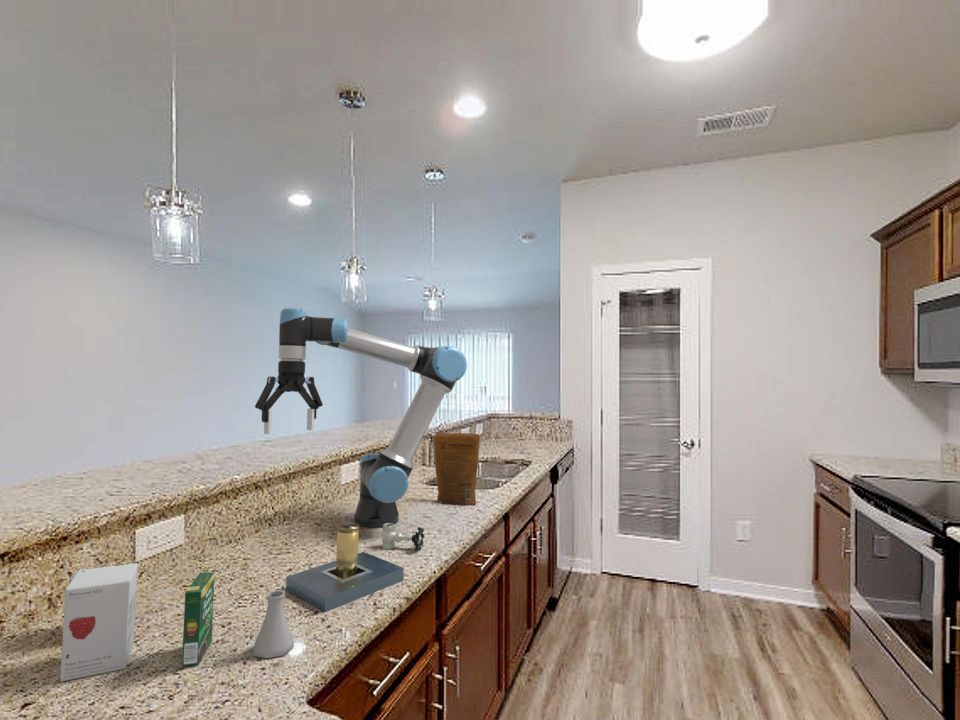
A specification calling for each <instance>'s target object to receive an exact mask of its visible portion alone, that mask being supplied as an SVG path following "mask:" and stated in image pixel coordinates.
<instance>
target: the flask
mask: <svg viewBox="0 0 960 720" xmlns="http://www.w3.org/2000/svg"><path fill="white" fill-rule="evenodd" d="M285 594H286V593H285V590H280V589H276V590H275V589H274V590H271V591H269V592H267V593H266V600H267V609H266V613H265V616H264V619H263V621H262V625H261V628H260V630H259V632H258V635H257V636H256V640H255V642H254V645H253V652H252V656H253V657H257V658H263V659H271V658H276V657H280V656H281V657H283V656H285V655H286V654H288V653H289V652H290V651H291V650H292V649H293V648H294V647H295V643H294V642H295V641H294V638H293V637H294V636H293V635H292V632H291V629H290V627H289V624H288V619H287V617H286V614H285V610H284V603H283V602H284V597H285Z"/></svg>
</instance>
